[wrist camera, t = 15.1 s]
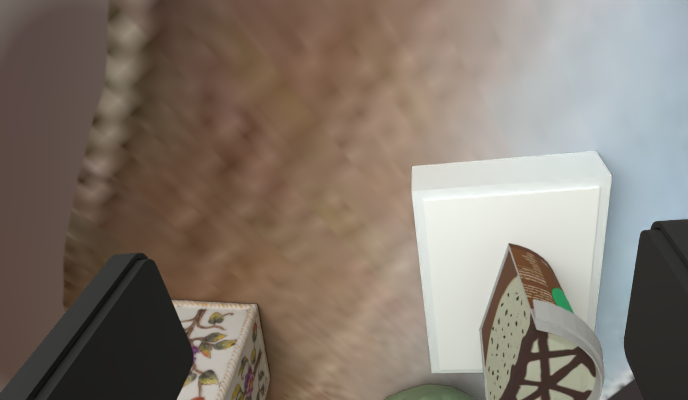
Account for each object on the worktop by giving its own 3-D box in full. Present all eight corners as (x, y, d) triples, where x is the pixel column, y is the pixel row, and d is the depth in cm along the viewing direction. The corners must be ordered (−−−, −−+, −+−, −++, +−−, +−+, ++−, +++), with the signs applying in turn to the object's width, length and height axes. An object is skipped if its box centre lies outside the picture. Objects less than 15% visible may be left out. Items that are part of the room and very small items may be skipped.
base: (595, 150, 40) (613, 177, 36) (578, 337, 50) (590, 373, 46) (412, 166, 43) (411, 193, 39) (430, 341, 53) (431, 375, 49)
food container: (545, 352, 46) (574, 459, 37) (475, 340, 46) (487, 445, 38) (595, 239, 39) (644, 339, 31) (513, 227, 39) (539, 322, 31)
